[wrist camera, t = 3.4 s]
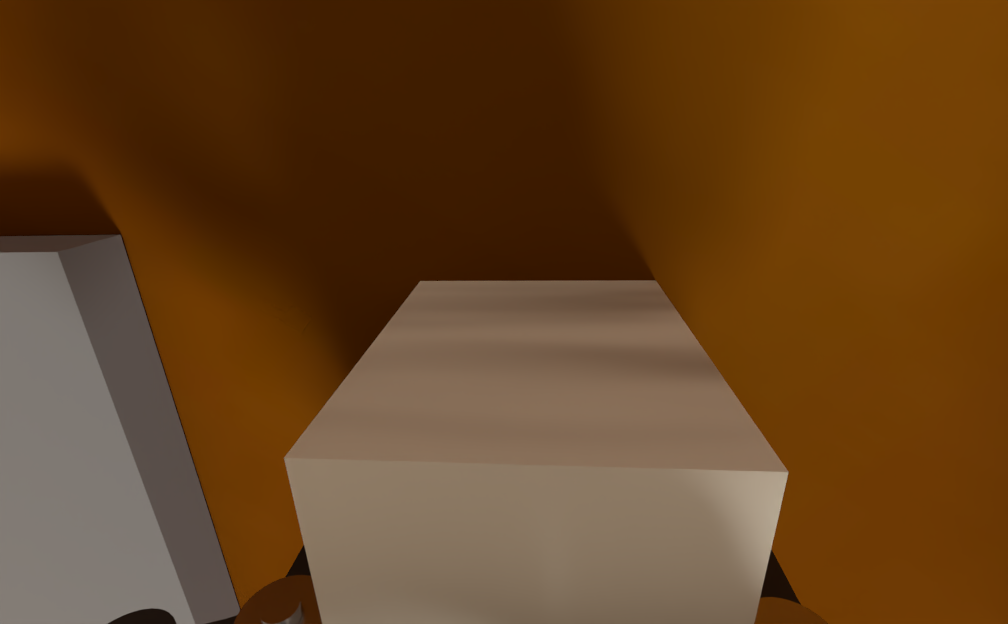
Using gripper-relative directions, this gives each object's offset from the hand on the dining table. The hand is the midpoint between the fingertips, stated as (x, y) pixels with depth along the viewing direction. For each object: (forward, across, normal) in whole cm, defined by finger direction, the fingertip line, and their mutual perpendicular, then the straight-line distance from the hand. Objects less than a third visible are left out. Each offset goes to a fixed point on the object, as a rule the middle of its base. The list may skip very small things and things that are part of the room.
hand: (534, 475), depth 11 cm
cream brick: (+1, 0, 0) cm, 1 cm away
